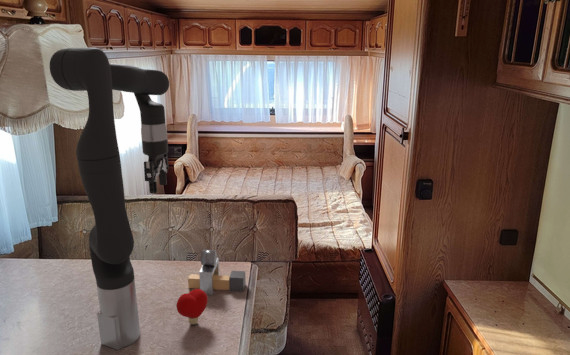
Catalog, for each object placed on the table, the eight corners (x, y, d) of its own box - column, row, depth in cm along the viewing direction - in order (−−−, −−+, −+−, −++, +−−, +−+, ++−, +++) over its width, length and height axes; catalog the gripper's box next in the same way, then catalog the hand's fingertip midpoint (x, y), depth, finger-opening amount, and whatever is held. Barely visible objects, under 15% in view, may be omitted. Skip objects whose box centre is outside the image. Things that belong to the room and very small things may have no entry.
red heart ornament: (200, 312, 127) (198, 282, 124) (214, 322, 122) (212, 291, 120) (172, 325, 121) (170, 294, 118) (186, 336, 116) (183, 304, 113)
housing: (200, 294, 136) (198, 257, 133) (208, 278, 146) (206, 243, 142) (212, 294, 136) (211, 258, 132) (219, 278, 146) (218, 244, 142)
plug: (187, 289, 139) (186, 275, 138) (191, 282, 144) (190, 268, 142) (243, 291, 138) (243, 278, 137) (245, 284, 142) (245, 271, 141)
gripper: (158, 143, 122) (162, 196, 127) (174, 134, 136) (177, 182, 140) (132, 142, 123) (137, 195, 127) (151, 133, 136) (155, 181, 141)
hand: (158, 188), depth 134 cm, fingers open, 8 cm apart
